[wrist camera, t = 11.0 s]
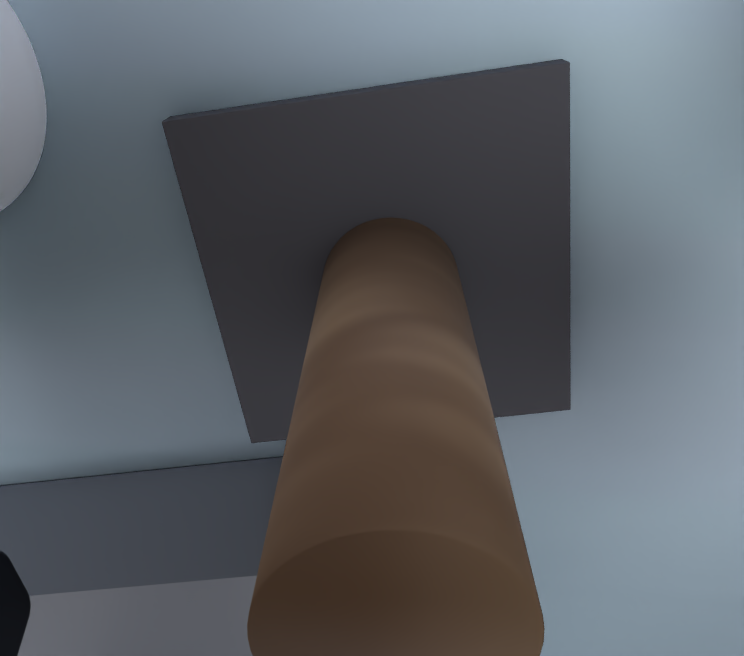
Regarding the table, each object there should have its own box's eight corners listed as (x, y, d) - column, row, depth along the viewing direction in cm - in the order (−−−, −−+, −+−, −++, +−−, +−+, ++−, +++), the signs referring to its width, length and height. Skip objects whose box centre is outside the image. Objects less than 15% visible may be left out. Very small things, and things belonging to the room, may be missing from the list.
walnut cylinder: (452, 208, 14) (540, 516, 6) (463, 334, 15) (547, 719, 7) (312, 227, 14) (215, 545, 6) (334, 348, 15) (280, 737, 8)
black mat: (562, 58, 13) (569, 62, 13) (564, 396, 17) (570, 409, 16) (170, 116, 14) (161, 122, 13) (255, 428, 17) (251, 443, 17)
